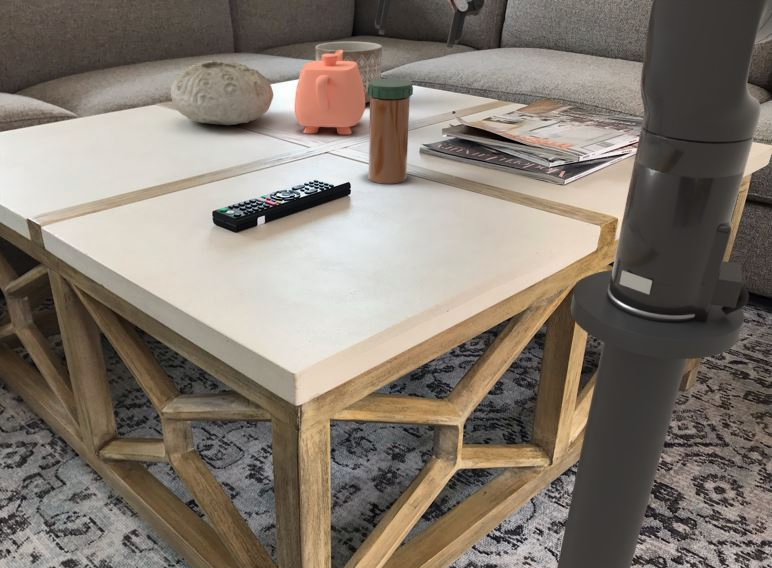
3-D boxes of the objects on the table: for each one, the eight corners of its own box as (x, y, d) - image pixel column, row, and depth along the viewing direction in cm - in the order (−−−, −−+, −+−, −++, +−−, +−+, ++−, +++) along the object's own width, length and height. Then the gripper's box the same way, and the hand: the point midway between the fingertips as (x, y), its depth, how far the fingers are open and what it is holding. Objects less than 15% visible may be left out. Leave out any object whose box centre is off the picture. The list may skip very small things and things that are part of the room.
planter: (380, 95, 150) (381, 41, 145) (380, 109, 139) (381, 50, 134) (318, 95, 151) (317, 41, 146) (313, 108, 140) (312, 51, 135)
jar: (411, 175, 103) (415, 84, 97) (399, 185, 99) (402, 91, 93) (376, 170, 105) (378, 81, 99) (362, 181, 101) (364, 88, 95)
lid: (418, 92, 97) (418, 80, 97) (404, 100, 93) (404, 88, 92) (377, 88, 100) (377, 77, 99) (361, 97, 95) (361, 85, 94)
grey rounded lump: (284, 112, 137) (282, 56, 132) (260, 136, 122) (256, 73, 117) (193, 110, 140) (188, 54, 136) (158, 133, 125) (151, 71, 120)
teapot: (357, 142, 118) (358, 64, 112) (285, 140, 120) (282, 62, 114) (371, 115, 135) (372, 45, 129) (307, 113, 137) (306, 44, 131)
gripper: (386, -125, 85) (359, 17, 86) (508, -103, 85) (478, 40, 86) (383, -93, 92) (358, 38, 94) (494, -72, 92) (468, 59, 94)
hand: (416, 39), depth 90 cm, fingers open, 8 cm apart
